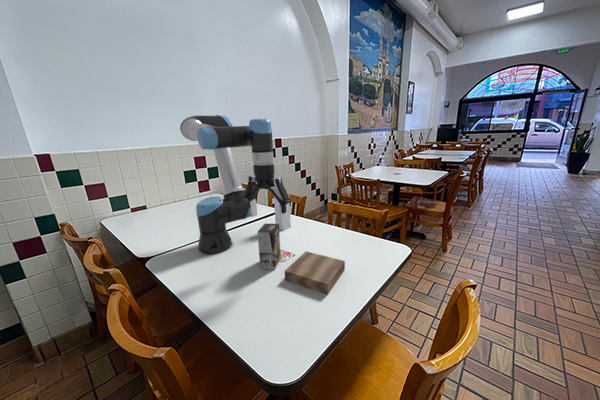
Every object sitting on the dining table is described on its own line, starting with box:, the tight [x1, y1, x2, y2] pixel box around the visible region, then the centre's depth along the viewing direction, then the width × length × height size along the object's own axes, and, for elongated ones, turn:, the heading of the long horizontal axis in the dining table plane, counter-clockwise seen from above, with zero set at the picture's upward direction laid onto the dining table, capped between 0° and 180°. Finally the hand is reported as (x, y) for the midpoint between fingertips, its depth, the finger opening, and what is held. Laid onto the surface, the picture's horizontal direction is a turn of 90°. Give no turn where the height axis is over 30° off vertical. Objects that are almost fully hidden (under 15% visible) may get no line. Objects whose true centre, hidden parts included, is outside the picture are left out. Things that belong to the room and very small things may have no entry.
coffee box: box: [256, 223, 282, 271], centre depth 98 cm, size 9×6×16 cm
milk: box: [273, 194, 292, 232], centre depth 132 cm, size 6×6×22 cm
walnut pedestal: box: [284, 250, 346, 295], centre depth 91 cm, size 17×16×4 cm
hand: (268, 218), depth 94 cm, fingers open, 13 cm apart
